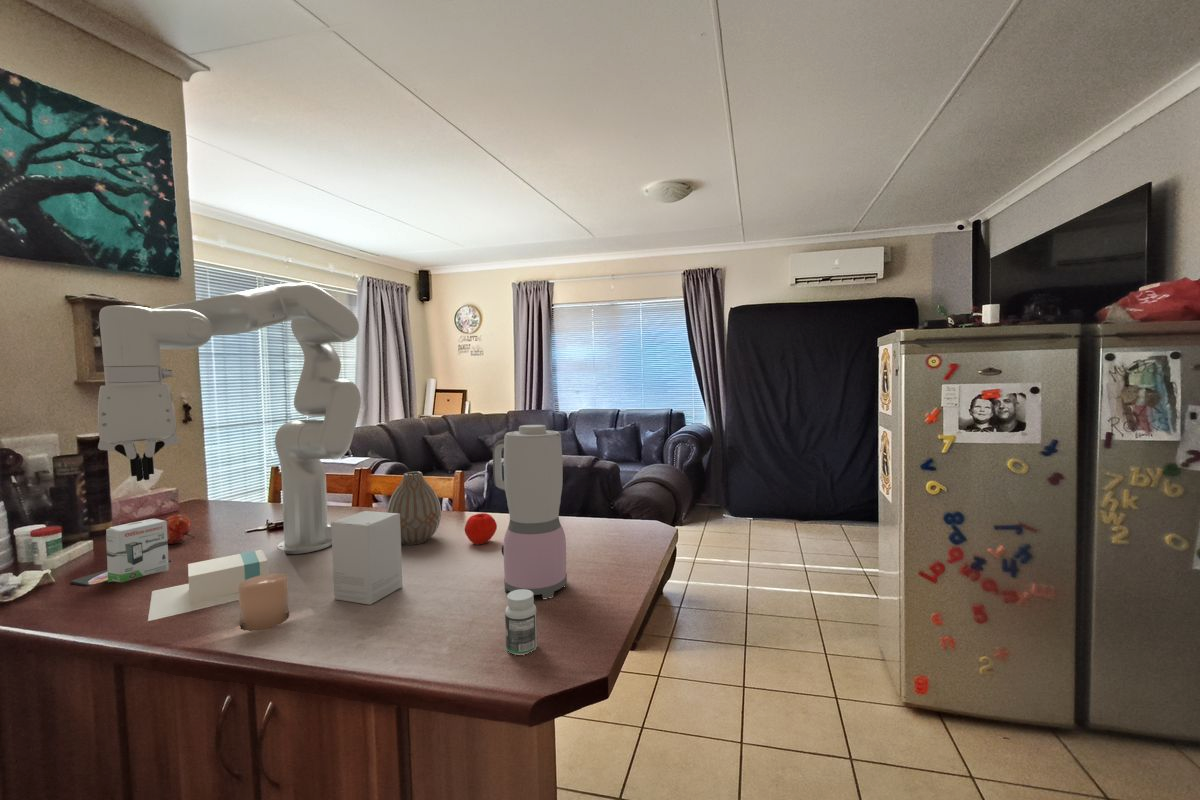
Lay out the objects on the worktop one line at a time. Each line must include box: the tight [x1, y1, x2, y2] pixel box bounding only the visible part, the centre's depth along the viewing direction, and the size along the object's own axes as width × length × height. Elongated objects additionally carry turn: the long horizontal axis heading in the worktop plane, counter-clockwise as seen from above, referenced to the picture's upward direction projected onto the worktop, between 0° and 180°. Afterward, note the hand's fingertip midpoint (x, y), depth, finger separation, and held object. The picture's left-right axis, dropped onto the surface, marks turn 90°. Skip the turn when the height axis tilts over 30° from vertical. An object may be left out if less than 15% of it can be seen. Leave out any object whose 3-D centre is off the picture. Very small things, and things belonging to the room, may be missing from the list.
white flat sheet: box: [147, 582, 239, 622], centre depth 97 cm, size 17×16×1 cm
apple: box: [464, 512, 498, 545], centre depth 127 cm, size 8×8×7 cm
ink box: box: [105, 518, 170, 583], centre depth 107 cm, size 9×5×12 cm, turn 158°
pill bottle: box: [504, 589, 538, 654], centre depth 77 cm, size 5×5×8 cm
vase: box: [386, 471, 442, 546], centre depth 129 cm, size 13×13×18 cm
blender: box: [492, 424, 568, 598], centre depth 100 cm, size 16×12×32 cm
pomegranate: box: [163, 514, 196, 545], centre depth 131 cm, size 7×7×10 cm
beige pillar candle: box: [238, 572, 290, 632], centre depth 87 cm, size 7×7×7 cm
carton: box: [187, 549, 269, 604], centre depth 99 cm, size 5×8×12 cm
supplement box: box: [330, 510, 403, 605], centre depth 98 cm, size 9×9×15 cm
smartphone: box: [70, 559, 172, 587], centre depth 111 cm, size 8×1×15 cm
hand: (143, 479), depth 91 cm, fingers closed
